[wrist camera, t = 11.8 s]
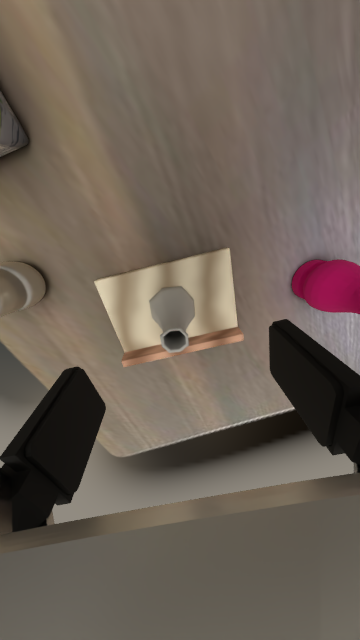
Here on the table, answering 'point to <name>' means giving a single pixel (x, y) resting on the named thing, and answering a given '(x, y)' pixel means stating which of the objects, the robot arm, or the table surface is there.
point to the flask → (173, 316)
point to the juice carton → (10, 129)
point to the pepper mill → (329, 285)
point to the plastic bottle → (19, 287)
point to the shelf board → (142, 284)
